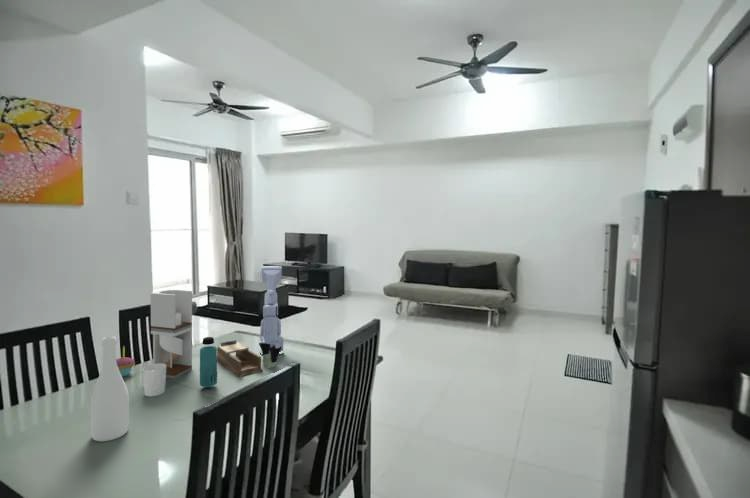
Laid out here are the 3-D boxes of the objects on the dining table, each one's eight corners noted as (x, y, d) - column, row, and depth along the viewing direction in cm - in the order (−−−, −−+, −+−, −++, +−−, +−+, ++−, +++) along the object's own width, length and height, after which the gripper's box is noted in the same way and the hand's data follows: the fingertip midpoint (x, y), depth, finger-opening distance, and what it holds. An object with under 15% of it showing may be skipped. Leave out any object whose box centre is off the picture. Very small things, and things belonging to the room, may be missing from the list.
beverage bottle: (210, 391, 150) (211, 340, 149) (195, 389, 151) (195, 339, 150) (220, 385, 157) (221, 336, 155) (206, 383, 158) (206, 334, 157)
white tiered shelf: (151, 375, 164) (150, 293, 162) (170, 366, 174) (169, 289, 172) (174, 378, 161) (173, 295, 159) (191, 369, 172) (192, 290, 169)
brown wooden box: (238, 356, 190) (238, 343, 190) (262, 370, 173) (262, 356, 172) (215, 361, 183) (215, 347, 182) (238, 377, 165) (238, 362, 165)
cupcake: (113, 372, 166) (112, 344, 165) (136, 369, 170) (136, 342, 169) (109, 379, 158) (108, 350, 158) (133, 376, 162) (133, 348, 161)
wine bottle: (122, 422, 126) (121, 331, 124) (133, 433, 120) (132, 337, 118) (87, 434, 118) (85, 337, 116) (97, 446, 112) (95, 344, 110)
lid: (238, 343, 189) (238, 339, 189) (248, 349, 181) (248, 344, 181) (217, 347, 182) (217, 343, 182) (227, 353, 174) (227, 348, 174)
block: (271, 363, 182) (271, 353, 182) (276, 366, 179) (276, 355, 179) (262, 365, 179) (263, 355, 179) (267, 368, 176) (267, 357, 176)
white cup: (170, 389, 152) (170, 364, 151) (157, 398, 144) (157, 371, 143) (151, 387, 152) (151, 362, 152) (137, 396, 144) (137, 370, 144)
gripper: (254, 328, 180) (254, 357, 181) (270, 335, 170) (269, 366, 171) (268, 326, 185) (268, 354, 186) (284, 332, 175) (284, 362, 176)
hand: (269, 359), depth 179 cm, fingers open, 7 cm apart
